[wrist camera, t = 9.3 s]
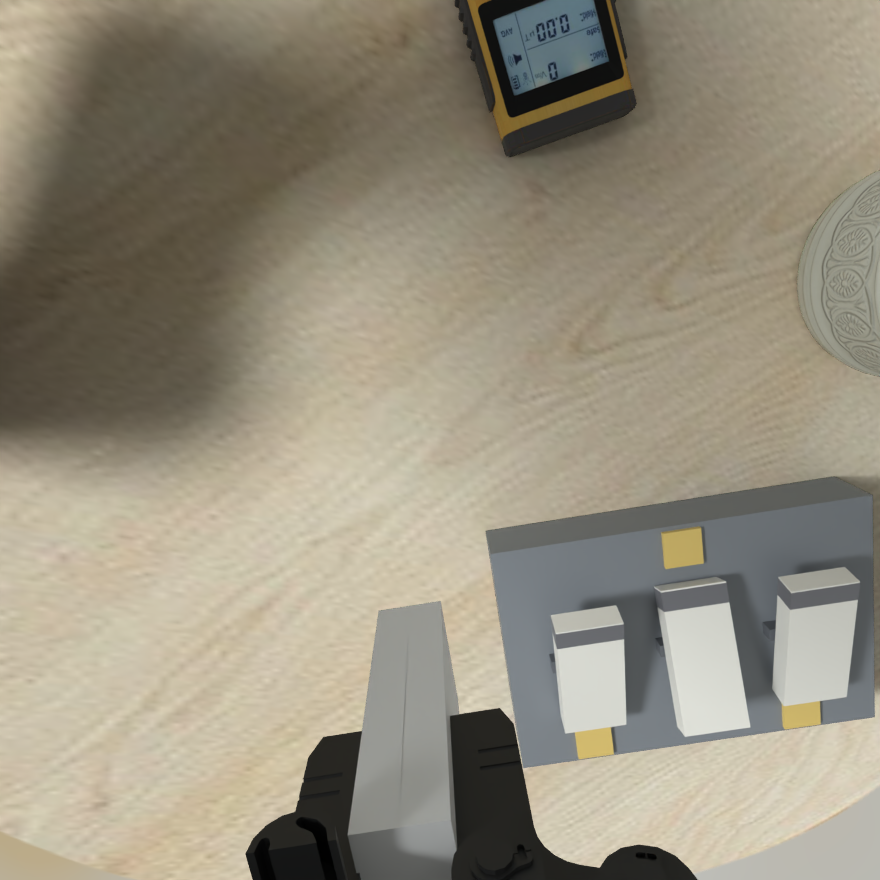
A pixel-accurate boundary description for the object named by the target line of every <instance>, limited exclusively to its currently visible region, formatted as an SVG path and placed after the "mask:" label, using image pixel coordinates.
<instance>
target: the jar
mask: <svg viewBox="0 0 880 880" xmlns="http://www.w3.org/2000/svg"><path fill="white" fill-rule="evenodd" d="M797 293H798V301H799V306H800V310H801V314H802V316H803V319H804V322H805V324H806V326H807V328H808V330H809V331H810V333H811V334H812V336H813V337H814V339H815V340H816V341H817V342H818V344H819V345H820V346H821V347H822V348H823V349H824V350H826V351H827V352H828V353H829V354H831V355H832V356H833V357H835V358H837V359H838V360H840V361H841V362H843V363H844V364H846V365H848V366H849V367H851V368H853V369H856V370H858V371H861V372H863V373H866V374H870V375H875V376H879V377H880V170H878V171H876V172H874V173H872V174H870V175H869V176H867V177H865V178H864V179H862V180H861V181H859V182H857V183H856V184H854V185H853V186H851V187H850V188H848V189H847V190H846V191H844V192H843V193H842V194H841V195H839V196H838V197H837V198H836V199H835V200H834V201H833V202H832V203H831V204H830V205H829V206H828V207H827V209H826V210H825V211H824V212H823V213H822V215H821V216H820V218H819V219H818V220H817V222H816V224H815V225H814V227H813V228H812V230H811V232H810V234H809V236H808V238H807V241H806V243H805V246H804V248H803V251H802V255H801V258H800V263H799V268H798V276H797Z"/></svg>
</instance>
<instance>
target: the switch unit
mask: <svg viewBox="0 0 880 880" xmlns="http://www.w3.org/2000/svg"><path fill="white" fill-rule="evenodd" d="M486 537H487V543H488V550H489V556H490V563H491V569H492V575H493V582H494V588H495V595H496V601H497V607H498V614H499V620H500V627H501V633H502V640H503V646H504V652H505V659H506V665H507V672H508V678H509V685H510V691H511V697H512V704H513V710H514V717H515V723H516V729H517V735H518V740H519V746H520V751H521V757H522V762H523V768H527V767H534V766H541V765H548V764H555V763H562V762H569V761H576V760H582V759H589V758H596V757H603V756H610V755H617V754H624V753H631V752H638V751H644V750H651V749H658V748H665V747H672V746H679V745H686V744H693V743H700V742H706V741H713V740H720V739H727V738H734V737H741V736H748V735H755V734H762V733H768V732H775V731H782V730H789V729H796V728H803V727H810V726H817V725H824V724H831V723H837V722H844V721H851V720H858V719H865V718H872V717H875V703H874V599H873V495H871V494H869V493H867V492H865V491H863V490H861V489H859V488H857V487H855V486H853V485H851V484H849V483H847V482H845V481H843V480H841V479H839V478H837V477H828V478H822V479H816V480H809V481H803V482H796V483H790V484H784V485H777V486H771V487H764V488H758V489H751V490H745V491H739V492H732V493H726V494H719V495H713V496H706V497H700V498H694V499H687V500H681V501H674V502H668V503H662V504H655V505H649V506H642V507H636V508H629V509H623V510H617V511H610V512H604V513H597V514H591V515H585V516H578V517H572V518H565V519H559V520H552V521H546V522H540V523H533V524H527V525H520V526H514V527H507V528H501V529H495V530H488V531H486ZM840 567H845V568H846V569H848V570H849V571H850V572H851V573H852V574H853V575H854V576H855V577H856V578H857V579H858V580H859V581H860V591H859V600H858V603H857V612H856V621H855V629H854V638H853V647H852V655H851V664H850V672H849V681H848V690H847V697H844V698H837V699H830V700H823V701H817V702H810V703H803V704H796V705H789V706H783V704H782V703H781V701H780V700H779V698H778V697H777V695H776V694H775V692H774V691H773V689H772V684H773V666H774V648H775V631H776V613H777V586H778V577H781V576H788V575H794V574H801V573H807V572H814V571H821V570H827V569H834V568H840ZM711 577H718V578H720V579H722V580H724V581H726V583H727V589H728V595H729V601H730V602H729V604H730V609H731V615H732V621H733V627H734V633H735V639H736V645H737V651H738V657H739V662H740V668H741V674H742V680H743V686H744V692H745V698H746V704H747V710H748V715H749V721H750V728H743V729H736V730H729V731H722V732H715V733H708V734H702V735H695V736H688V737H685V736H684V735H683V733H682V732H681V731H680V730H679V728H678V727H677V722H676V716H675V710H674V704H673V698H672V692H671V686H670V680H669V674H668V668H667V662H666V656H665V650H664V644H663V638H662V632H661V626H660V620H659V614H658V608H657V604H656V598H655V592H654V586H659V585H665V584H672V583H679V582H685V581H692V580H698V579H705V578H711ZM614 605H616V606H617V608H618V611H619V613H620V616H621V618H622V620H623V623H624V656H625V691H626V725H621V726H614V727H608V728H601V729H594V730H587V731H580V732H573V733H567V734H565V730H564V726H563V722H562V718H561V714H560V704H559V694H558V684H557V673H556V663H555V653H554V643H553V633H552V627H551V617H550V616H551V615H555V614H562V613H568V612H575V611H581V610H588V609H595V608H601V607H608V606H614Z"/></svg>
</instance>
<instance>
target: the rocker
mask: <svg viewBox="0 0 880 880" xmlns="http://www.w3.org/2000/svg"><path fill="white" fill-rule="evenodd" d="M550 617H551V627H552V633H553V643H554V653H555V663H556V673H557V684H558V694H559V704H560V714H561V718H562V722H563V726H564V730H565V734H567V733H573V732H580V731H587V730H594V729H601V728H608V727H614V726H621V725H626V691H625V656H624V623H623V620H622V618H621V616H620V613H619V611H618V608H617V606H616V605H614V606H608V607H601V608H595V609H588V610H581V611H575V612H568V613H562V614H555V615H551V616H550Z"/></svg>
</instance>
